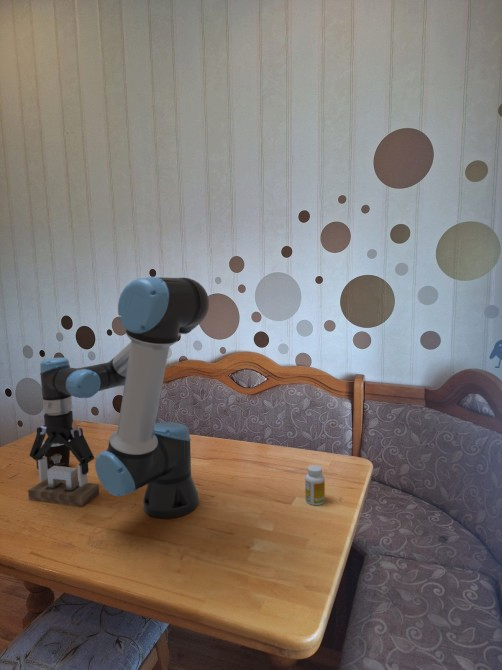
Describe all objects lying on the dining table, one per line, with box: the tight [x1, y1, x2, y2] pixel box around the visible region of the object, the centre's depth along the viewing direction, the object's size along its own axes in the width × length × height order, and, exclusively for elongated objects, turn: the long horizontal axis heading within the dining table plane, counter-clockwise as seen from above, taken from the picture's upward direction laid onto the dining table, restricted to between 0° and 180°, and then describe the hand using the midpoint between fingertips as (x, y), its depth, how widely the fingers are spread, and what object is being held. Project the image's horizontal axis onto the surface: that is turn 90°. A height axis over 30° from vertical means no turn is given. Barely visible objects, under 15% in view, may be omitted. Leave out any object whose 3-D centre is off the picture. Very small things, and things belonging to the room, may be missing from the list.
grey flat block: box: [27, 478, 100, 508], centre depth 124 cm, size 18×8×3 cm, turn 75°
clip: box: [47, 466, 79, 492], centre depth 124 cm, size 8×3×8 cm, turn 75°
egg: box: [72, 419, 79, 430], centre depth 172 cm, size 6×6×8 cm
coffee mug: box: [31, 440, 71, 469], centre depth 143 cm, size 12×9×10 cm
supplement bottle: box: [304, 464, 326, 506], centre depth 119 cm, size 5×5×10 cm
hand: (63, 482), depth 124 cm, fingers open, 13 cm apart
